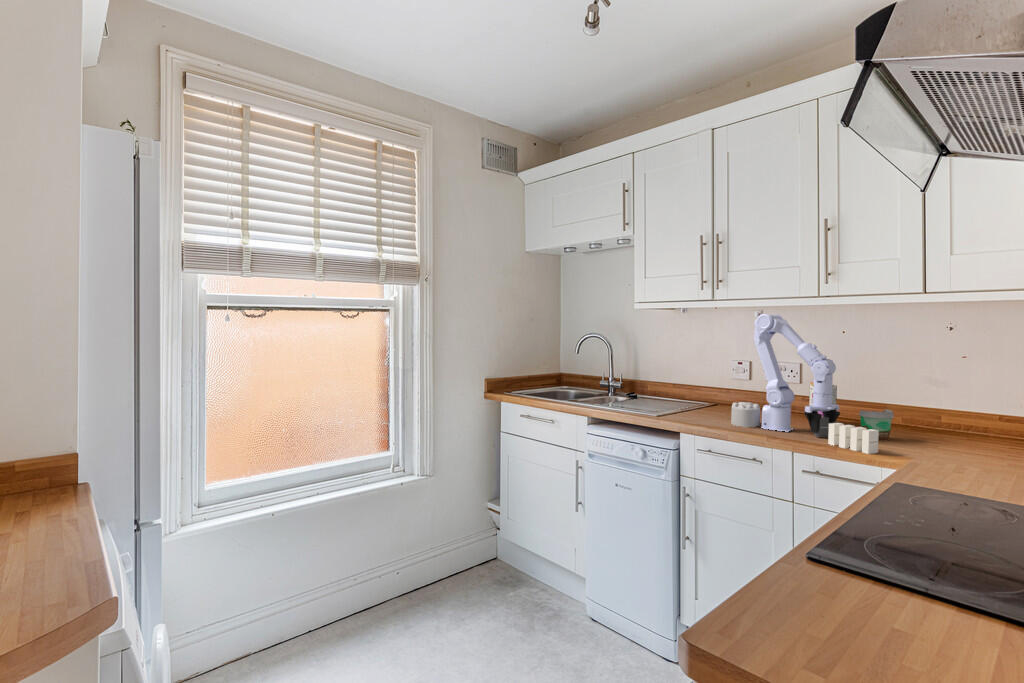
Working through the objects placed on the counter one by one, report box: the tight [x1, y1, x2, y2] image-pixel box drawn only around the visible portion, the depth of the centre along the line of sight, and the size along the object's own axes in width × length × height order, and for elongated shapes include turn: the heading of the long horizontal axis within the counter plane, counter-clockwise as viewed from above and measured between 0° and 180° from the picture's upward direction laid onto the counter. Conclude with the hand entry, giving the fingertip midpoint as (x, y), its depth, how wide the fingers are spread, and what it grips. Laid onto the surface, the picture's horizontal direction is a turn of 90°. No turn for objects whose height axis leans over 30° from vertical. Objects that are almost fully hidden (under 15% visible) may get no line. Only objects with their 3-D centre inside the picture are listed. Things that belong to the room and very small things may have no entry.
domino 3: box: [849, 426, 867, 452], centre depth 161 cm, size 2×4×7 cm, turn 111°
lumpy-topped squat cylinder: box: [730, 401, 761, 428], centre depth 202 cm, size 10×13×9 cm
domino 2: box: [838, 424, 856, 449], centre depth 165 cm, size 2×4×7 cm, turn 111°
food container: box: [858, 408, 895, 441], centre depth 177 cm, size 12×6×10 cm, turn 105°
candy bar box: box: [808, 381, 838, 423], centre depth 206 cm, size 11×5×16 cm, turn 179°
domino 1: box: [827, 422, 845, 447], centre depth 168 cm, size 2×4×7 cm, turn 111°
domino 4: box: [861, 429, 879, 455], centre depth 158 cm, size 2×4×7 cm, turn 111°
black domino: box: [813, 416, 829, 438], centre depth 180 cm, size 2×4×7 cm, turn 111°
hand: (821, 431), depth 181 cm, fingers open, 6 cm apart
